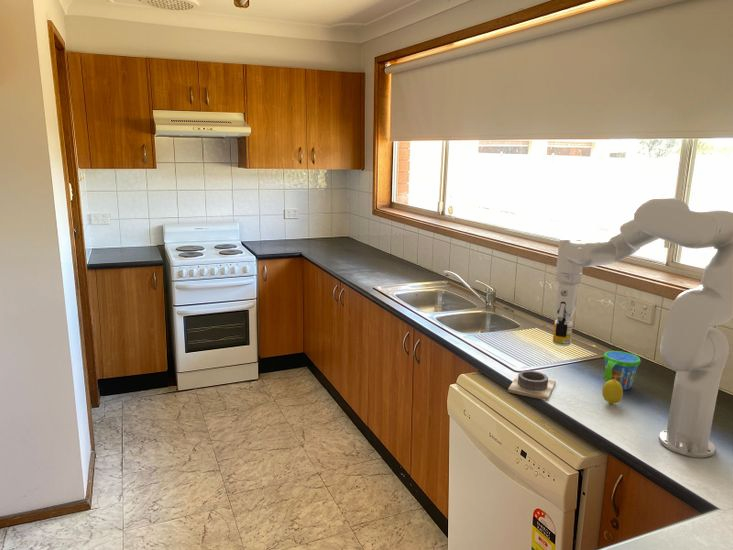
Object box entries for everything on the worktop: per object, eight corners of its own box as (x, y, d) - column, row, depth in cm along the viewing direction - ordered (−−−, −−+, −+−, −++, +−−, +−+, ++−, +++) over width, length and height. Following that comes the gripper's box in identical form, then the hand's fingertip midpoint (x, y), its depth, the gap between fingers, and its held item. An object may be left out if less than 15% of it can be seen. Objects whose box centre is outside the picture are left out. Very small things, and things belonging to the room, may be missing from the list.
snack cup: (618, 375, 187) (622, 347, 185) (648, 387, 178) (652, 357, 176) (588, 384, 179) (592, 354, 177) (617, 397, 171) (621, 366, 168)
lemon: (624, 404, 165) (627, 379, 164) (616, 410, 162) (620, 384, 160) (605, 398, 169) (608, 374, 167) (597, 404, 165) (600, 379, 164)
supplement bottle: (554, 339, 179) (557, 310, 177) (572, 342, 177) (575, 313, 175) (550, 344, 175) (553, 314, 173) (568, 347, 172) (571, 317, 170)
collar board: (547, 400, 167) (549, 388, 166) (507, 391, 172) (508, 379, 171) (555, 384, 179) (556, 372, 178) (517, 376, 184) (519, 365, 184)
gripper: (576, 284, 162) (570, 343, 166) (585, 274, 177) (579, 328, 181) (550, 281, 166) (544, 339, 170) (560, 271, 180) (555, 324, 184)
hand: (562, 333), depth 175 cm, fingers closed on supplement bottle, 5 cm apart
